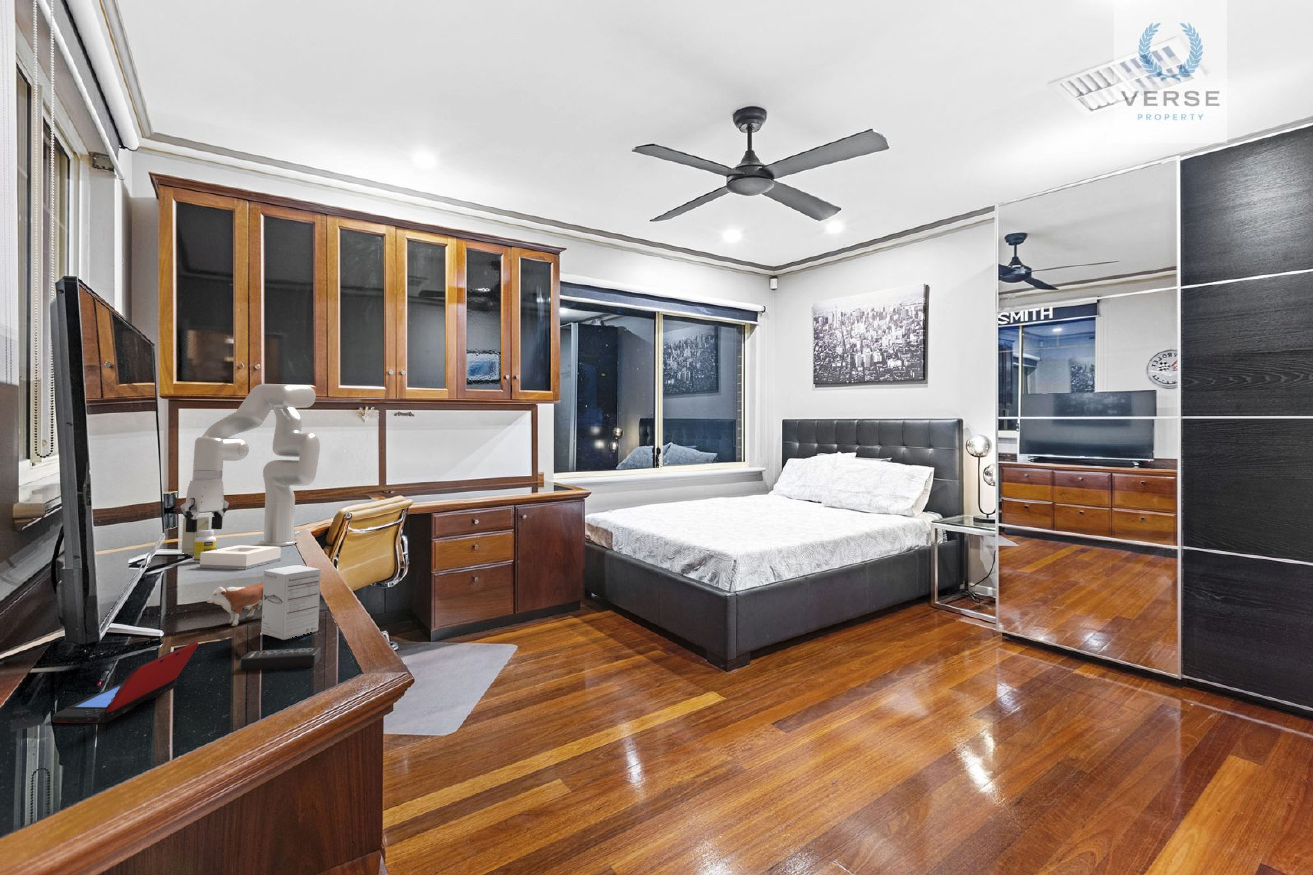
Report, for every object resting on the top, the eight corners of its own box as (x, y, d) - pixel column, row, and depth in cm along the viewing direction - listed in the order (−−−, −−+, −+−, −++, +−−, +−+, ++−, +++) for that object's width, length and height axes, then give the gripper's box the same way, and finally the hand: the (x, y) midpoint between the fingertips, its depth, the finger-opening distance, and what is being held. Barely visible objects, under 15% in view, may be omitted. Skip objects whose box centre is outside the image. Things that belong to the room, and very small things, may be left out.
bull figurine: (201, 629, 120) (203, 588, 120) (263, 612, 133) (264, 575, 133) (217, 631, 119) (219, 589, 119) (278, 614, 132) (279, 577, 132)
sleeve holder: (237, 559, 194) (238, 545, 194) (280, 560, 193) (280, 546, 193) (199, 567, 179) (200, 552, 179) (246, 569, 178) (246, 554, 178)
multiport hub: (313, 668, 101) (314, 654, 101) (238, 673, 98) (239, 659, 98) (320, 660, 105) (321, 646, 105) (249, 664, 102) (249, 650, 102)
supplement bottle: (203, 563, 186) (204, 531, 186) (189, 562, 187) (190, 531, 187) (219, 560, 191) (220, 529, 191) (205, 559, 192) (206, 528, 193)
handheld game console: (126, 687, 91) (129, 638, 91) (199, 688, 91) (201, 639, 92) (45, 725, 79) (48, 667, 79) (130, 726, 79) (133, 669, 79)
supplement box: (259, 634, 117) (262, 569, 118) (297, 625, 124) (299, 564, 124) (282, 641, 114) (284, 574, 114) (319, 631, 120) (322, 567, 121)
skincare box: (193, 555, 199) (195, 518, 199) (180, 555, 199) (182, 518, 199) (208, 552, 205) (209, 516, 205) (195, 552, 205) (197, 516, 206)
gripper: (218, 475, 198) (215, 527, 198) (172, 476, 181) (168, 533, 180) (239, 476, 198) (236, 528, 197) (195, 476, 181) (192, 533, 180)
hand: (204, 530), depth 189 cm, fingers open, 9 cm apart
